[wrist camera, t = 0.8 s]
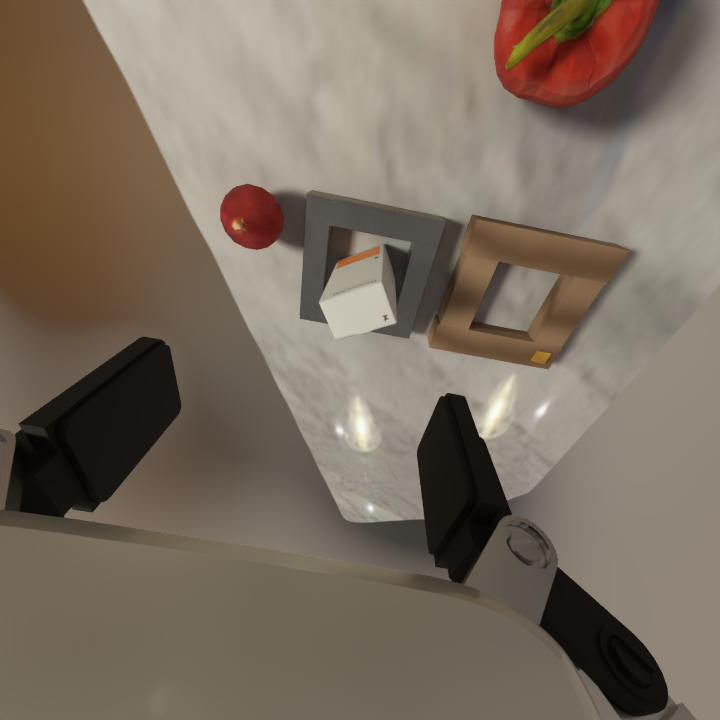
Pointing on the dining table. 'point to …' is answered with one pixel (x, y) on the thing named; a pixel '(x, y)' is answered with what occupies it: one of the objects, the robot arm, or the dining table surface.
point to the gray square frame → (372, 220)
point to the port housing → (533, 250)
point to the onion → (251, 216)
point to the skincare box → (360, 294)
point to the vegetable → (567, 46)
